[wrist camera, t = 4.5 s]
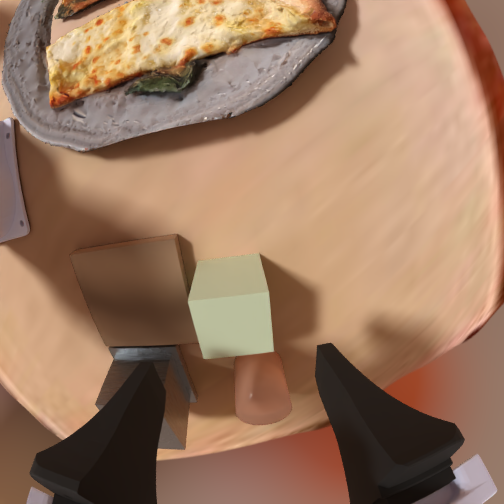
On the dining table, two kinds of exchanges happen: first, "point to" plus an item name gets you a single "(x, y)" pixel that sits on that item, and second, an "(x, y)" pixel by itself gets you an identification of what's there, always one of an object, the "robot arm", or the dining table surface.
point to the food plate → (156, 64)
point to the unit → (172, 378)
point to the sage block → (231, 307)
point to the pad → (137, 291)
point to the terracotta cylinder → (261, 389)
